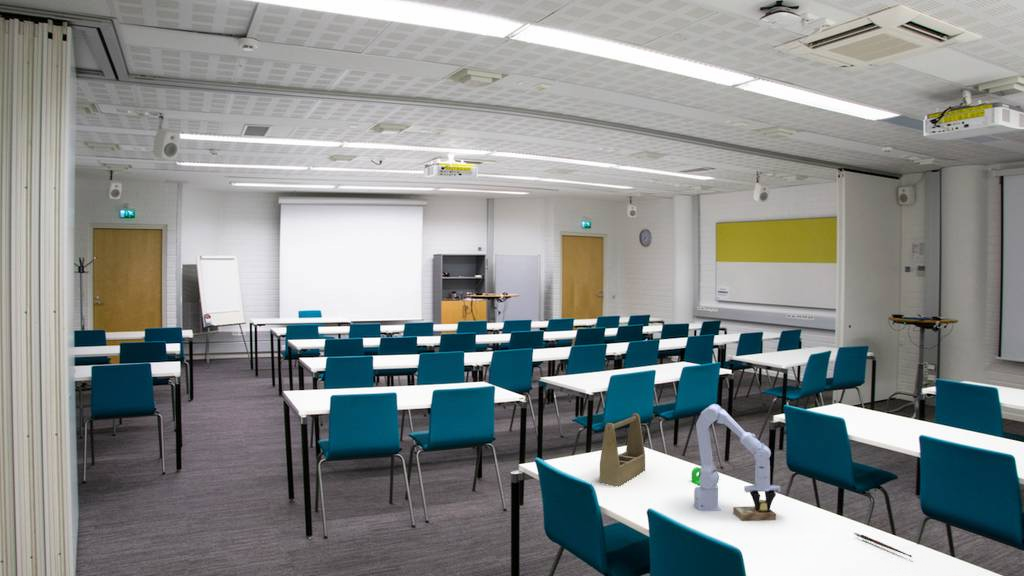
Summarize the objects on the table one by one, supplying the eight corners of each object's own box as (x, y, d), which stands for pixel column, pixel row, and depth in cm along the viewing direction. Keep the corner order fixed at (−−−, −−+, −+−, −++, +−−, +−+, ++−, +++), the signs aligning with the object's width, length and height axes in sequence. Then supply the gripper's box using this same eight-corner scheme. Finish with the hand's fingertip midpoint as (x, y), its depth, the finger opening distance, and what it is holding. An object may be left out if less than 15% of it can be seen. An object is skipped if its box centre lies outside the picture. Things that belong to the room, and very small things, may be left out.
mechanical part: (699, 488, 311) (699, 471, 311) (691, 484, 317) (691, 467, 317) (720, 485, 315) (720, 468, 315) (712, 481, 321) (712, 465, 321)
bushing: (759, 517, 271) (759, 503, 271) (755, 514, 275) (755, 499, 275) (769, 517, 272) (769, 502, 272) (764, 514, 276) (764, 499, 276)
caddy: (626, 470, 340) (626, 411, 340) (645, 473, 334) (645, 414, 333) (599, 484, 316) (599, 421, 316) (619, 488, 310) (619, 424, 310)
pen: (851, 534, 253) (910, 557, 233) (852, 531, 253) (911, 554, 233) (853, 534, 254) (912, 557, 233) (854, 531, 254) (913, 554, 233)
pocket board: (742, 520, 268) (742, 514, 268) (733, 512, 277) (733, 506, 277) (775, 519, 269) (775, 513, 269) (765, 512, 278) (765, 505, 278)
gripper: (749, 479, 269) (749, 512, 269) (784, 478, 270) (784, 511, 270) (742, 474, 276) (742, 506, 276) (776, 473, 277) (775, 505, 277)
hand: (762, 508), depth 274 cm, fingers closed on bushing, 4 cm apart
